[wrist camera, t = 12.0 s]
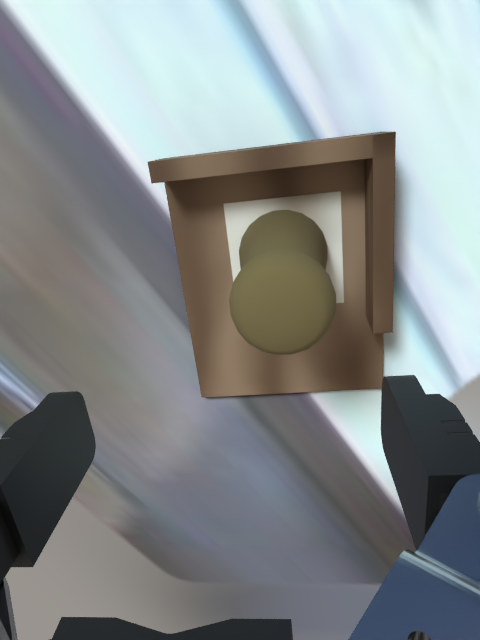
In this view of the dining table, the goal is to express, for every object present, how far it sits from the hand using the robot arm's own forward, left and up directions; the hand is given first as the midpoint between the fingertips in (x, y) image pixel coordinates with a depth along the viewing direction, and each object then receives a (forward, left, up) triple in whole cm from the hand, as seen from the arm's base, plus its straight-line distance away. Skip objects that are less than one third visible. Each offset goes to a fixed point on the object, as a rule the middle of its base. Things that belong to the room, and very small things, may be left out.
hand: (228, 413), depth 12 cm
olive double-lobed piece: (+1, -1, -20) cm, 20 cm away
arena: (+1, -3, -21) cm, 21 cm away
